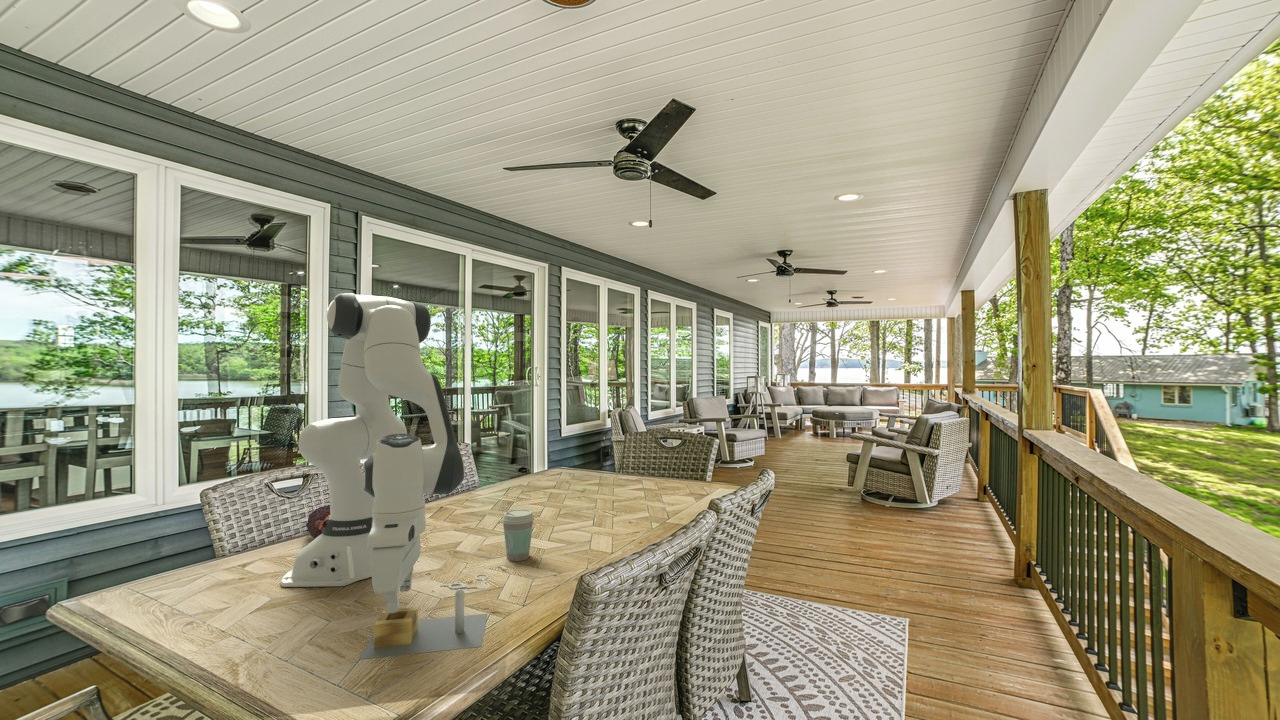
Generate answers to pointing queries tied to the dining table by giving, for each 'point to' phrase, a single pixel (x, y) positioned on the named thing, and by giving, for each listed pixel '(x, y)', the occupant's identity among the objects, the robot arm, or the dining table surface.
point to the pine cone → (317, 520)
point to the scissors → (469, 587)
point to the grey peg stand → (438, 634)
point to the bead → (396, 627)
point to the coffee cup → (517, 533)
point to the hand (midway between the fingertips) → (399, 600)
